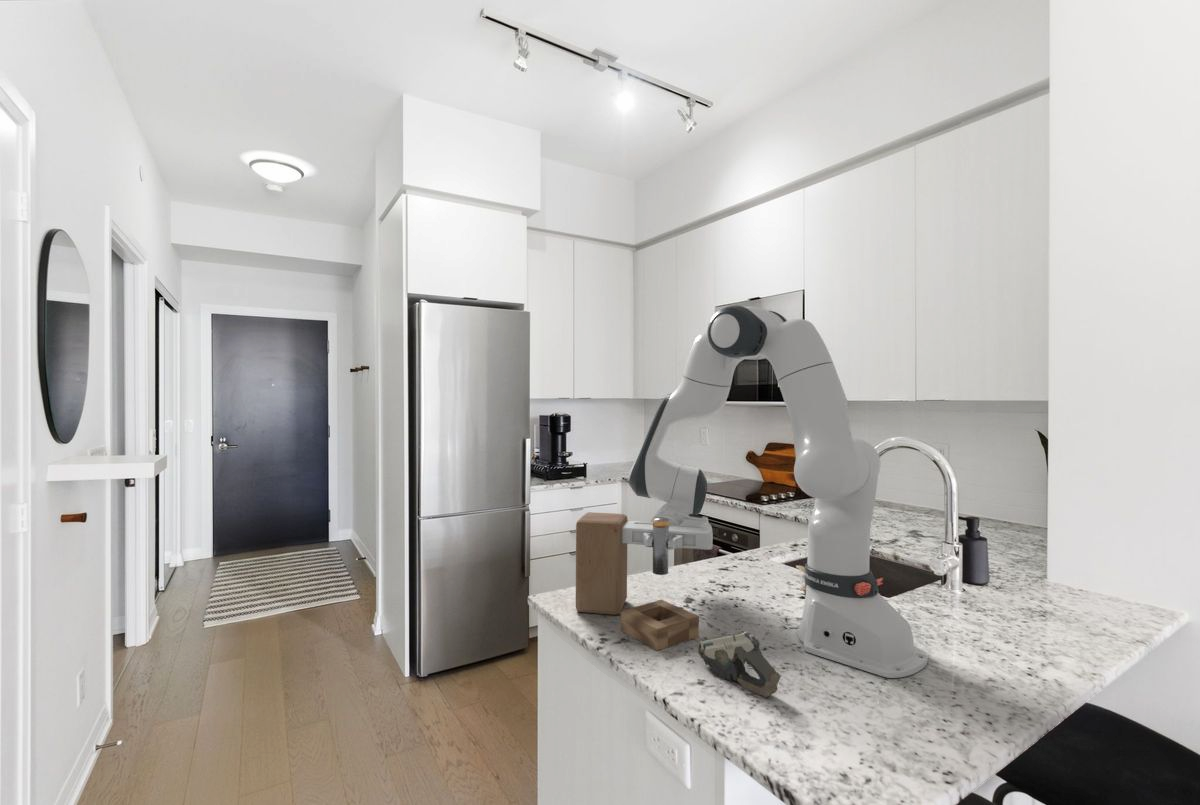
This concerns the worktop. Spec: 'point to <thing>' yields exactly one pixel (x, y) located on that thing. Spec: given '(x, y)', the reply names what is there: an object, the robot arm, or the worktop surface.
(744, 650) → the futuristic pistol
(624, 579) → the wooden block
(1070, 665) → the worktop surface
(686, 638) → the bore block
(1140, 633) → the worktop surface
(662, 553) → the grey metal cylinder
